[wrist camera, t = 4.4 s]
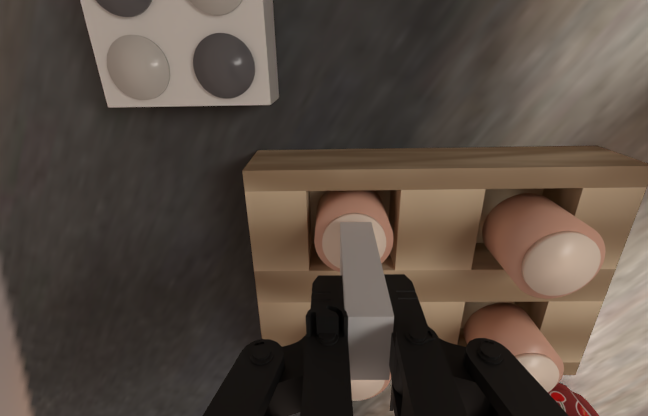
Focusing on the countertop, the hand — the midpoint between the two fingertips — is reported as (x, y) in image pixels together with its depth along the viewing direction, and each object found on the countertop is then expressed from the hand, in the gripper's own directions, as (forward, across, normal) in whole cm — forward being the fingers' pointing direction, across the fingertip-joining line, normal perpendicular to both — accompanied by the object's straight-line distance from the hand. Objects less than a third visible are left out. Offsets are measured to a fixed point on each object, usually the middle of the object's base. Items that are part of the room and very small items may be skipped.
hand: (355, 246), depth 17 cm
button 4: (+2, +9, -7) cm, 12 cm away
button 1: (+4, 0, 0) cm, 4 cm away
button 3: (+2, +9, 0) cm, 9 cm away
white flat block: (+6, -8, +10) cm, 14 cm away
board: (+6, +4, -4) cm, 8 cm away
